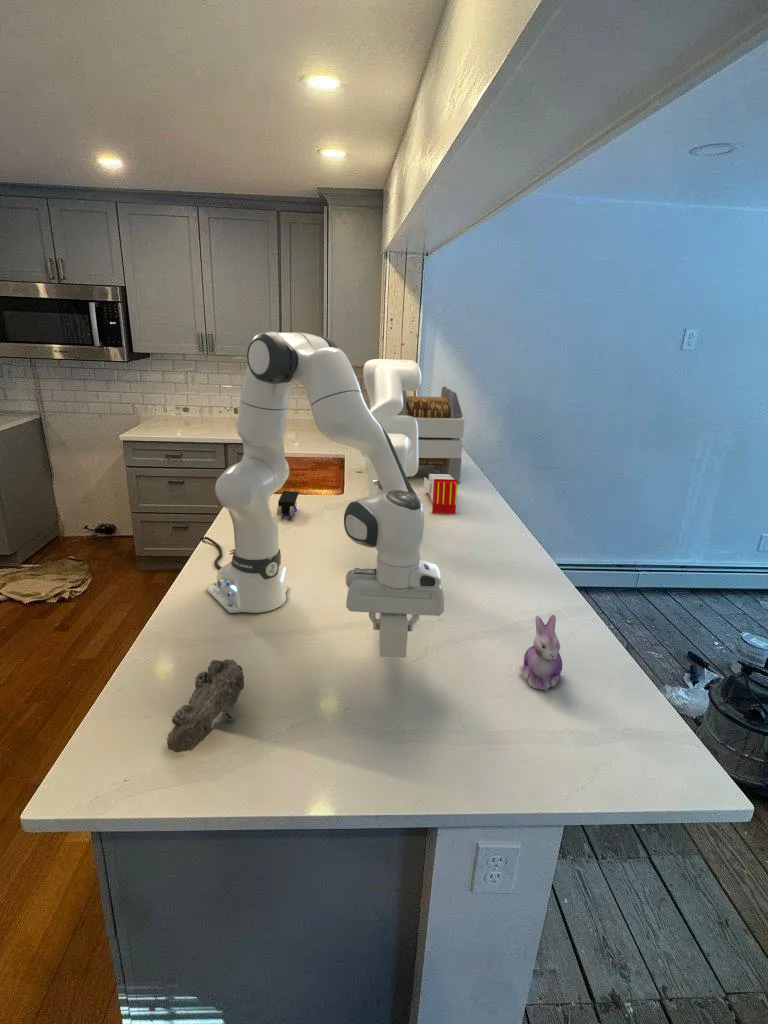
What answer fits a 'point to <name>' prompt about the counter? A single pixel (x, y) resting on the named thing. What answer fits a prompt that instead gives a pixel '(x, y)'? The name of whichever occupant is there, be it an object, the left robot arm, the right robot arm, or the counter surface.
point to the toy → (442, 492)
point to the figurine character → (287, 504)
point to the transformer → (438, 430)
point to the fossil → (206, 705)
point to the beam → (393, 635)
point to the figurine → (543, 656)
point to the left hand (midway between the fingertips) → (392, 629)
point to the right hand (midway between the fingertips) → (388, 543)
